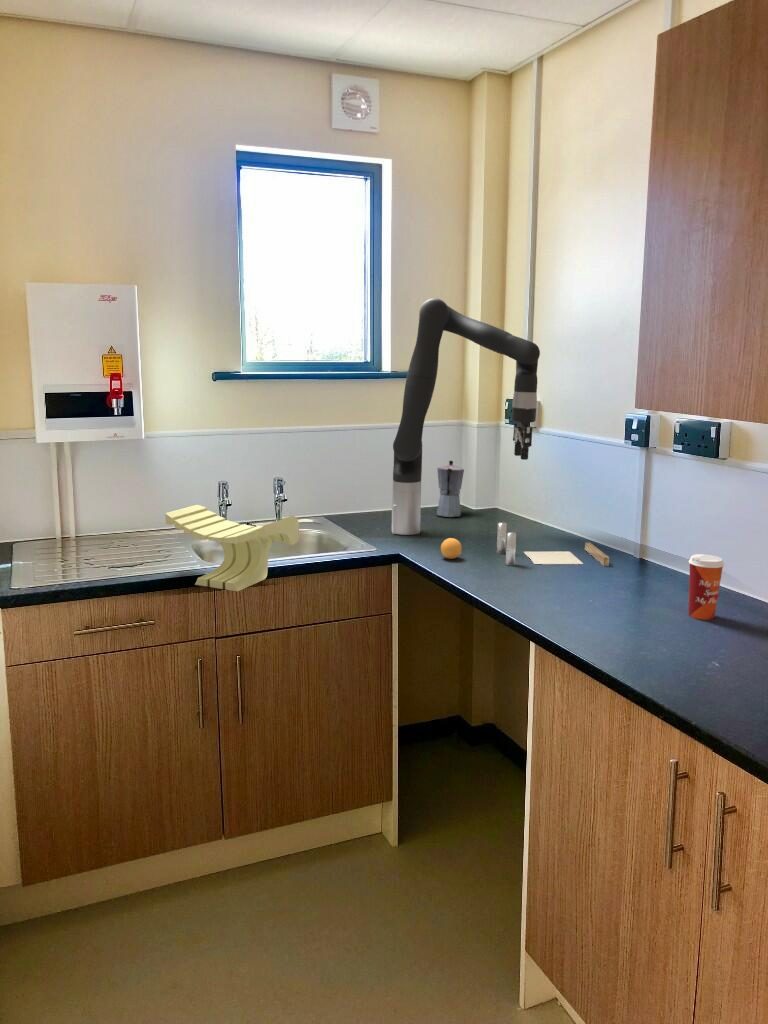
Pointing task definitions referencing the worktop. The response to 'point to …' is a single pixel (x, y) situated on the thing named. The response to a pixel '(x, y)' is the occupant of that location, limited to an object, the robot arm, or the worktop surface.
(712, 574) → the paper cup
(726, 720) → the worktop surface
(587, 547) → the wooden stick
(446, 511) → the moka pot
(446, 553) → the ball
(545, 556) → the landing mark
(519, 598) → the worktop surface
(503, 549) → the post
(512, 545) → the post
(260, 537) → the slatted curved stool
